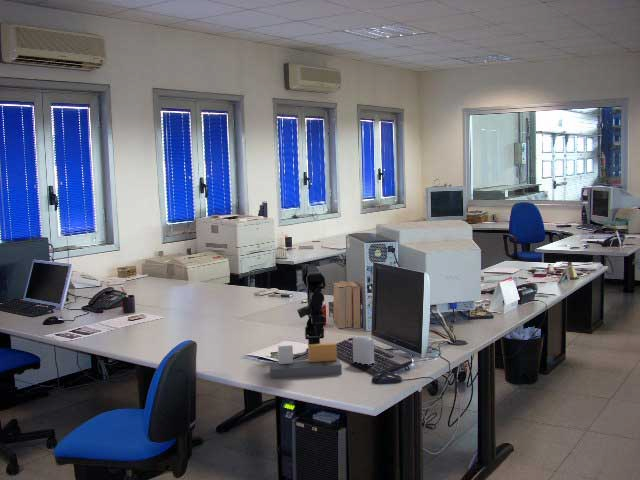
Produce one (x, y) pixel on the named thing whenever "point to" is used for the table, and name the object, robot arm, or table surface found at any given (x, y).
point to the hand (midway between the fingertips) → (316, 333)
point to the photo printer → (363, 350)
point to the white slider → (285, 354)
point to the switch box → (305, 369)
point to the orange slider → (322, 352)
